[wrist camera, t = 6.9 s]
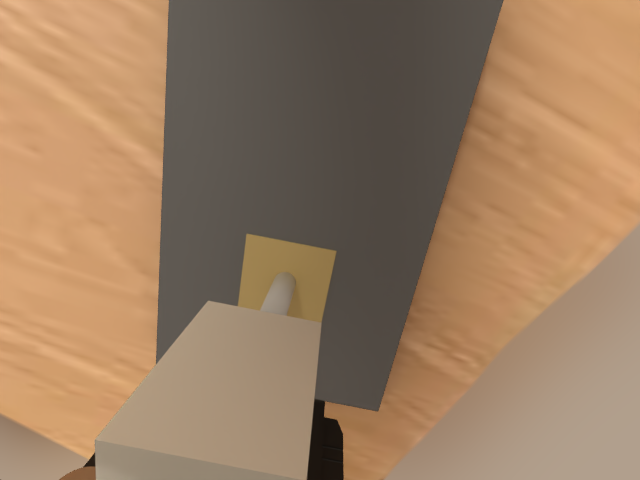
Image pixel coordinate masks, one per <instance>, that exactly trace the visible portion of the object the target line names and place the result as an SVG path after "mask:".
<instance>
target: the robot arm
mask: <svg viewBox="0 0 640 480" xmlns="http://www.w3.org/2000/svg"><path fill="white" fill-rule="evenodd" d="M324 406H325V401H323V400H318V399H314V408H313V418H312V429H311V439H310V450H309V460H308V471H307V480H343V433H342V431H341V428H340V426H339V424H338V421H337V420H335V419H330V418H325V417H324ZM59 480H96V466H95V453H94V454H93V456H92V457H91V458H90V460H89V461H88V462H87V463H86V464H85V466H84V467H83V468H79V469H77V470H74V471H72V472H70V473H68V474H66V475H65V476H63V477H62V478H61V479H59Z"/></svg>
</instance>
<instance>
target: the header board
mask: <svg viewBox="0 0 640 480" xmlns="http://www.w3.org/2000/svg"><path fill="white" fill-rule="evenodd" d="M502 3H503V0H169V13H168V41H167V69H166V98H165V126H164V154H163V182H162V210H161V239H160V267H159V295H158V323H157V351H156V364H157V363H158V362H159V360H160V359H161V358H162V357H163V355H164V354H165V353H166V352H167V350H168V349H169V348H170V347H171V346H172V344H173V343H174V342H175V341H176V339H177V338H178V337H179V336H180V335H181V333H182V332H183V331H184V330H185V328H186V327H187V326H188V325H189V323H190V322H191V321H192V320H193V319H194V317H195V316H196V315H197V314H198V312H199V311H200V310H201V309H202V308H203V306H204V305H205V304H206V303H207V301H213V302H218V303H223V304H228V305H233V306H238V307H244V308H249V309H254V310H259V311H264V312H269V313H274V314H280V315H285V316H290V317H295V318H300V319H305V320H310V321H316V322H321V323H322V324H321V334H320V345H319V355H318V366H317V376H316V387H315V397H314V399H318V400H323V401H327V402H332V403H337V404H342V405H347V406H353V407H358V408H363V409H368V410H373V411H378V410H379V407H380V404H381V401H382V397H383V394H384V391H385V387H386V384H387V381H388V378H389V374H390V371H391V368H392V364H393V361H394V358H395V355H396V351H397V348H398V345H399V341H400V338H401V335H402V332H403V328H404V325H405V322H406V318H407V315H408V312H409V309H410V305H411V302H412V299H413V295H414V292H415V289H416V286H417V282H418V279H419V276H420V272H421V269H422V266H423V263H424V259H425V256H426V253H427V249H428V246H429V243H430V240H431V236H432V233H433V230H434V227H435V223H436V220H437V217H438V213H439V210H440V207H441V204H442V200H443V197H444V194H445V190H446V187H447V184H448V181H449V177H450V174H451V171H452V167H453V164H454V161H455V158H456V154H457V151H458V148H459V144H460V141H461V138H462V135H463V131H464V128H465V125H466V121H467V118H468V115H469V112H470V108H471V105H472V102H473V98H474V95H475V92H476V89H477V85H478V82H479V79H480V75H481V72H482V69H483V66H484V62H485V59H486V56H487V53H488V49H489V46H490V43H491V39H492V36H493V33H494V30H495V26H496V23H497V20H498V16H499V13H500V10H501V7H502Z"/></svg>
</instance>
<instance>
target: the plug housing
mask: <svg viewBox="0 0 640 480" xmlns="http://www.w3.org/2000/svg"><path fill="white" fill-rule="evenodd" d="M321 324H322V323H321V322H316V321H310V320H305V319H300V318H295V317H290V316H285V315H280V314H274V313H269V312H264V311H259V310H254V309H249V308H244V307H238V306H233V305H228V304H223V303H218V302H213V301H207V303H206V304H205V305H204V306H203V308H202V309H201V310H200V311H199V312H198V314H197V315H196V316H195V317H194V319H193V320H192V321H191V322H190V323H189V325H188V326H187V327H186V328H185V330H184V331H183V332H182V333H181V335H180V336H179V337H178V338H177V339H176V341H175V342H174V343H173V344H172V346H171V347H170V348H169V349H168V350H167V352H166V353H165V354H164V355H163V357H162V358H161V359H160V360H159V362H158V363H157V364H156V365H155V366H154V368H153V369H152V370H151V371H150V373H149V374H148V375H147V376H146V377H145V379H144V380H143V381H142V382H141V384H140V385H139V386H138V387H137V388H136V390H135V391H134V392H133V393H132V395H131V396H130V397H129V398H128V400H127V401H126V402H125V403H124V404H123V406H122V407H121V408H120V409H119V411H118V412H117V413H116V414H115V415H114V417H113V418H112V419H111V420H110V422H109V423H108V424H107V425H106V427H105V428H104V429H103V430H102V431H101V433H100V434H99V435H98V436H97V438H96V439H95V466H96V480H307V471H308V460H309V450H310V439H311V429H312V418H313V408H314V397H315V387H316V376H317V366H318V355H319V345H320V334H321Z"/></svg>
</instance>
